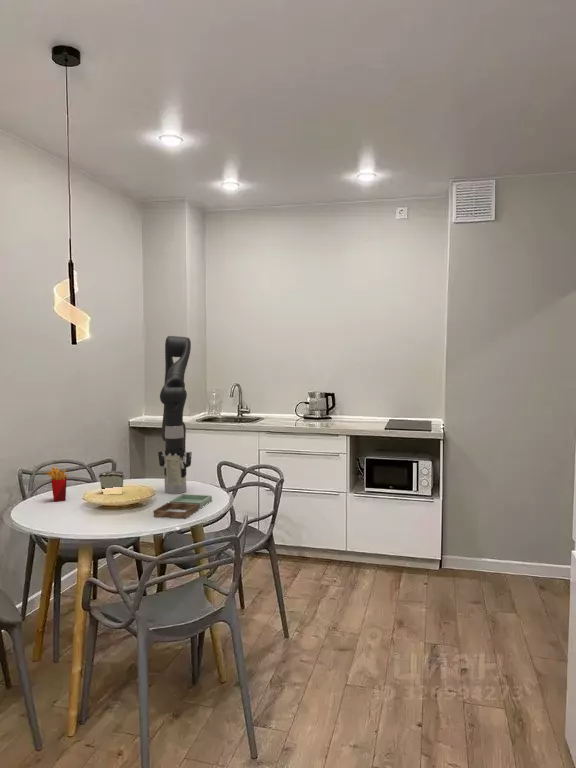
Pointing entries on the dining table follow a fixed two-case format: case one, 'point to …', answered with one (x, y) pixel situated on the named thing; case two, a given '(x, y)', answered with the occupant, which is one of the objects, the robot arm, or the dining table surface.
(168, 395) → the robot arm
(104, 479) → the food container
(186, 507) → the walnut bin
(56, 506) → the dining table surface
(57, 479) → the french fries
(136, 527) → the dining table surface
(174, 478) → the skincare box
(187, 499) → the green tray
